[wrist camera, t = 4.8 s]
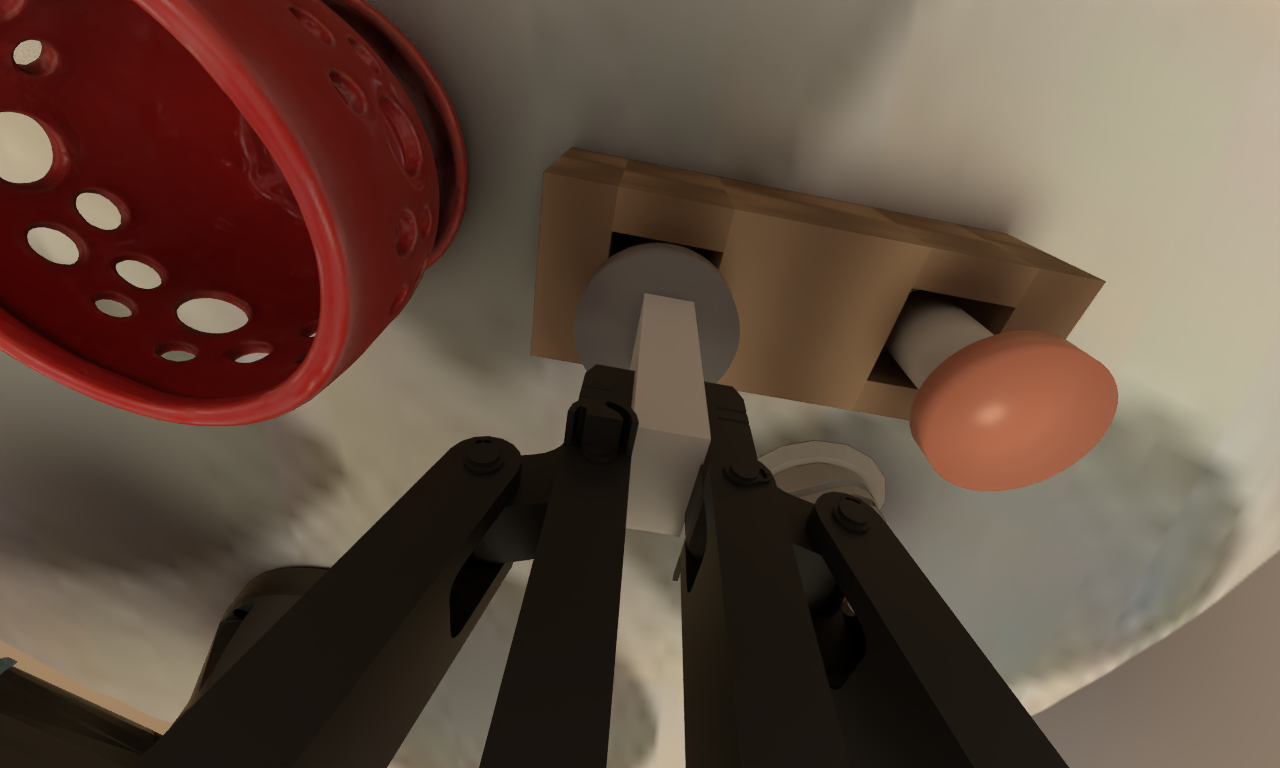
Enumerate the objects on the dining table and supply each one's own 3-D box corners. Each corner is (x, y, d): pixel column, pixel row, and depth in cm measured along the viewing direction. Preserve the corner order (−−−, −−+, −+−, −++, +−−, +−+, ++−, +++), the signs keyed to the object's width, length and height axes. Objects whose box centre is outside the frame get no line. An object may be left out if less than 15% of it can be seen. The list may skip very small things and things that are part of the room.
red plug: (832, 365, 22) (896, 477, 16) (882, 251, 20) (982, 334, 14) (943, 385, 23) (1047, 502, 17) (1008, 276, 20) (1160, 367, 14)
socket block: (556, 297, 25) (530, 355, 20) (571, 147, 22) (543, 172, 17) (934, 365, 27) (997, 435, 22) (1007, 234, 23) (1105, 281, 18)
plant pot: (191, -130, 18) (-451, -399, 7) (537, 89, 21) (417, 109, 11) (169, 206, 24) (-198, 309, 14) (438, 335, 27) (302, 498, 17)
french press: (871, 552, 34) (1202, 1327, 13) (699, 554, 35) (754, 1289, 14) (901, 438, 29) (1524, 1406, 8) (699, 443, 30) (786, 1339, 9)
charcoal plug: (591, 306, 23) (565, 391, 17) (607, 188, 20) (583, 239, 14) (701, 326, 24) (716, 416, 17) (732, 212, 21) (761, 273, 15)
